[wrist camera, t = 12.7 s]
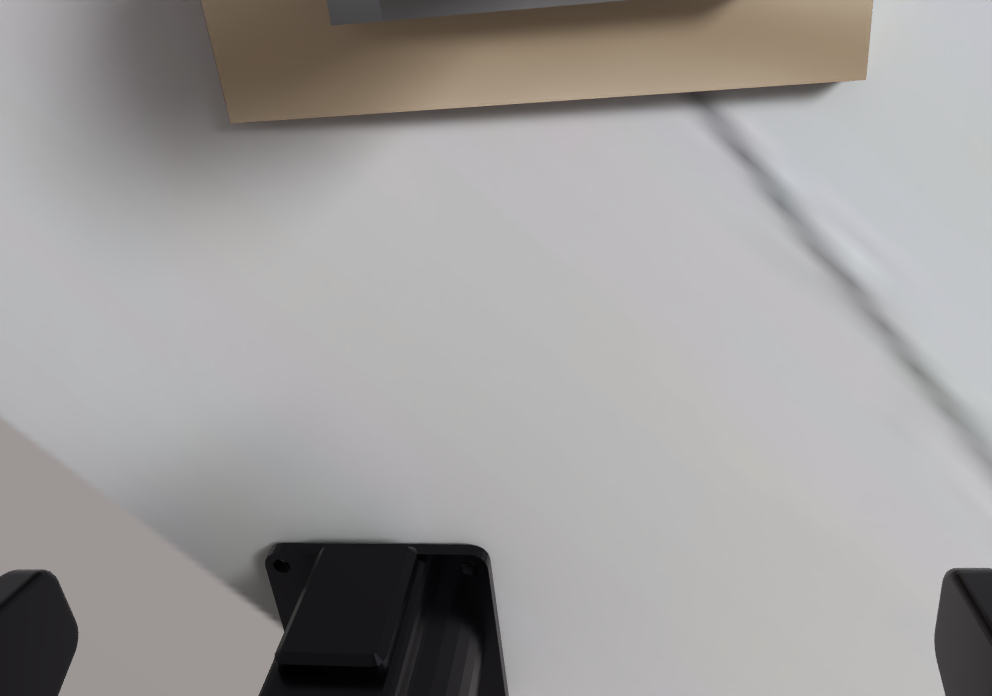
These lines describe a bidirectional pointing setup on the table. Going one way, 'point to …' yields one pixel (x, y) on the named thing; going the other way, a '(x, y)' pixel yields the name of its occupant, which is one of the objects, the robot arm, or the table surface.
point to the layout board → (518, 51)
